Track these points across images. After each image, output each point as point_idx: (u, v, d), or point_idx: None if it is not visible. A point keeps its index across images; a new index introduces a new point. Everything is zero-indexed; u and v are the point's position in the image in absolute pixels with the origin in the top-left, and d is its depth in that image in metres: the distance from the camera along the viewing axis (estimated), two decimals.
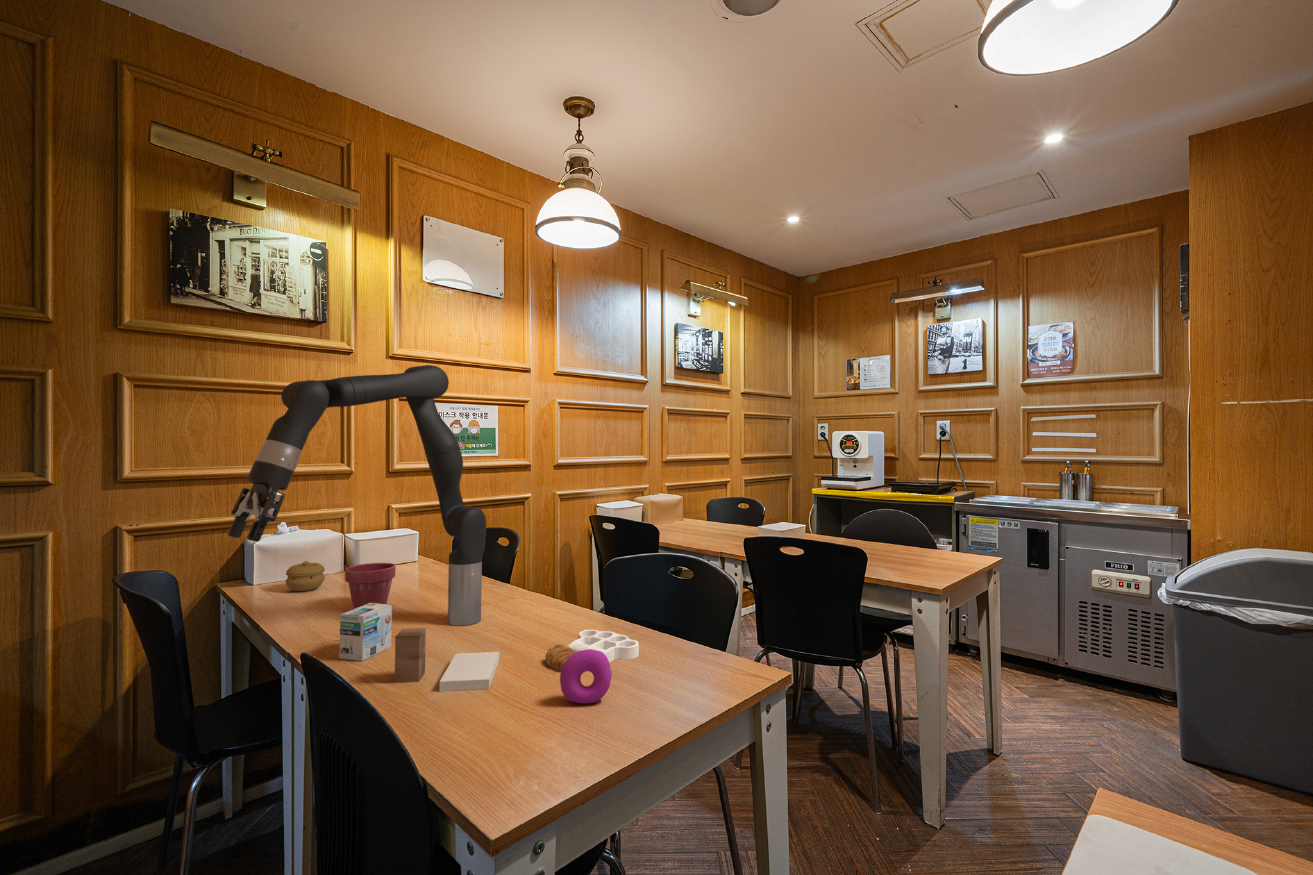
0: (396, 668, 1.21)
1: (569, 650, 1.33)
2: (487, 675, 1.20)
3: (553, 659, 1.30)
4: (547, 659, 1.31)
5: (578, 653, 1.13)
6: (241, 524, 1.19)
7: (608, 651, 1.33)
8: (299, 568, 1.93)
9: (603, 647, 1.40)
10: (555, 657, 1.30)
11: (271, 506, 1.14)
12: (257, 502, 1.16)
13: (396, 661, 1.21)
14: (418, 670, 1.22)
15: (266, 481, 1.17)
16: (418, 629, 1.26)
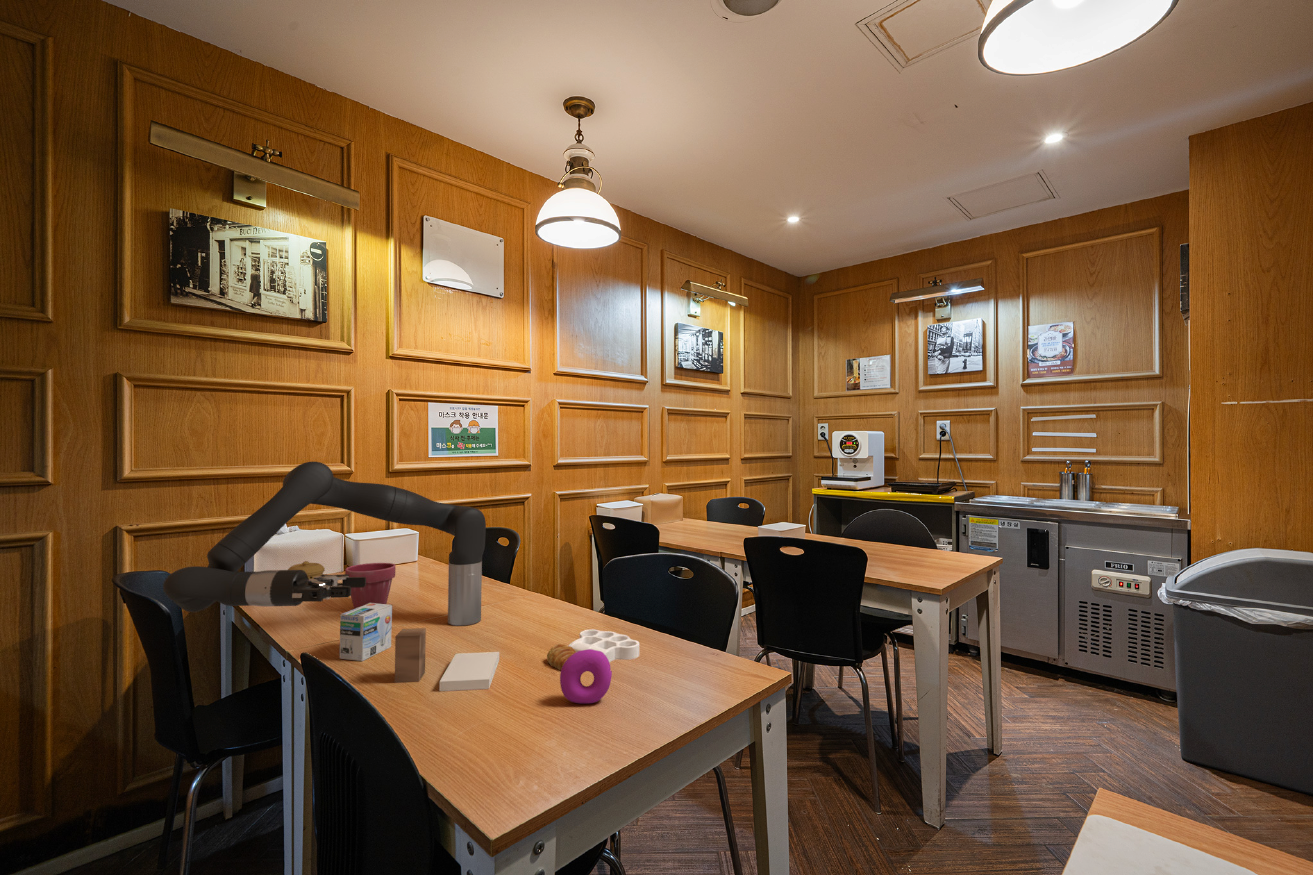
0: (396, 668, 1.21)
1: (571, 649, 1.33)
2: (487, 675, 1.20)
3: (555, 659, 1.30)
4: (549, 659, 1.32)
5: (578, 653, 1.13)
6: (351, 581, 1.26)
7: (608, 651, 1.34)
8: (299, 568, 1.93)
9: (604, 647, 1.40)
10: (557, 657, 1.30)
11: (307, 598, 1.14)
12: (314, 598, 1.18)
13: (396, 661, 1.21)
14: (418, 670, 1.22)
15: (290, 599, 1.17)
16: (418, 629, 1.26)
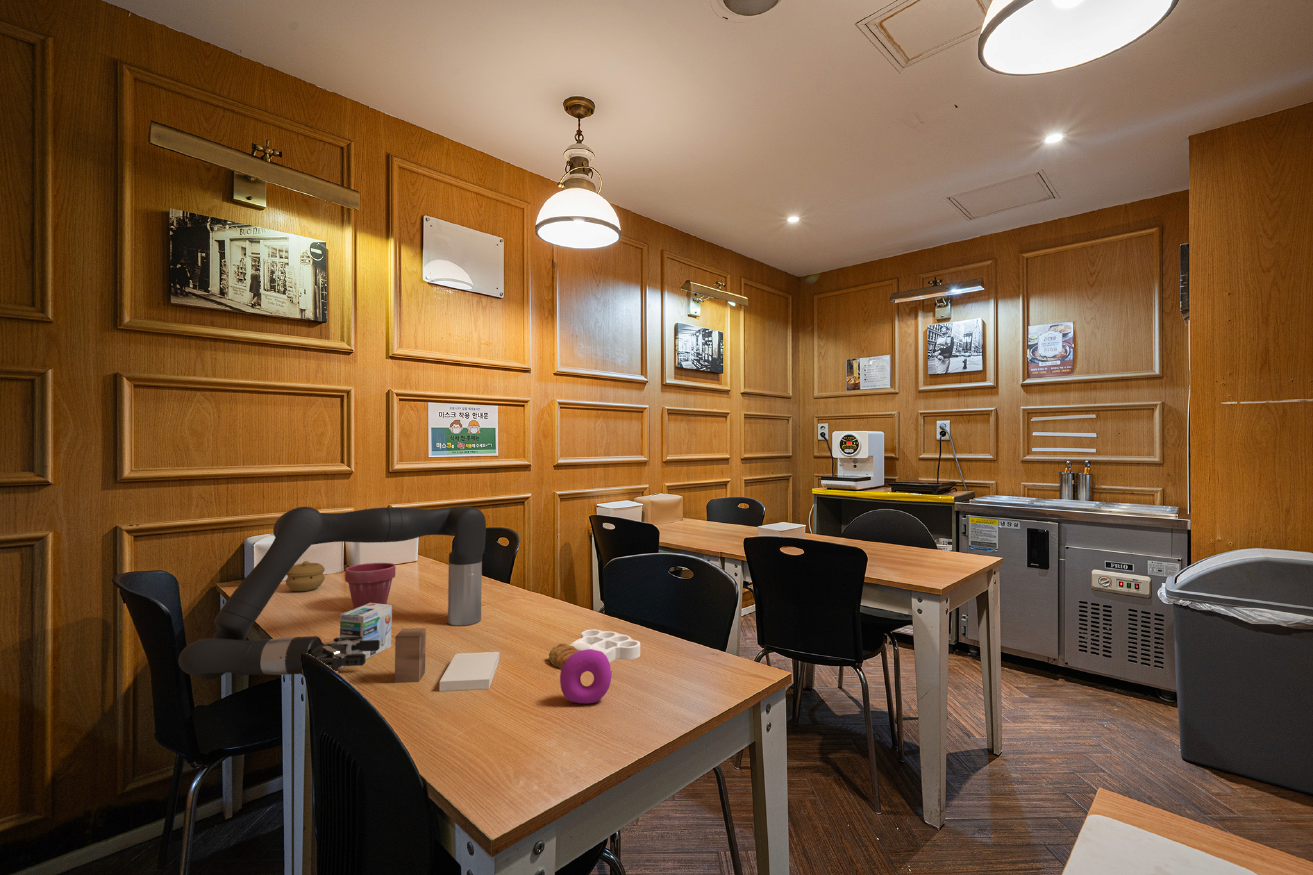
0: (396, 668, 1.21)
1: (573, 649, 1.33)
2: (487, 675, 1.20)
3: (558, 658, 1.30)
4: (551, 658, 1.32)
5: (578, 653, 1.13)
6: (365, 644, 1.26)
7: (609, 651, 1.34)
8: (299, 568, 1.93)
9: (605, 647, 1.40)
10: (559, 656, 1.31)
11: None
12: (329, 666, 1.18)
13: (396, 661, 1.21)
14: (418, 670, 1.22)
15: None
16: (418, 629, 1.26)
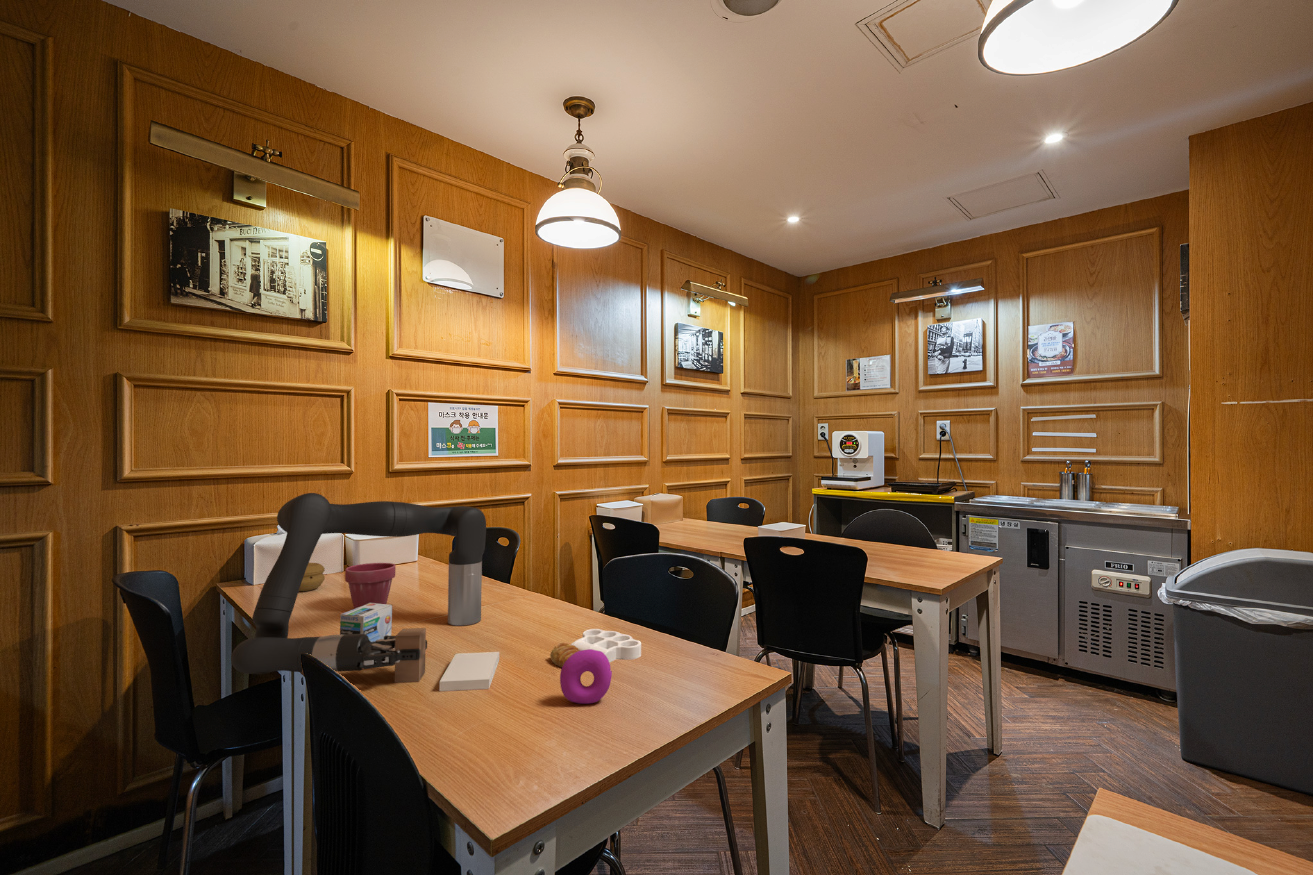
0: (396, 668, 1.21)
1: (574, 648, 1.34)
2: (487, 675, 1.20)
3: (560, 658, 1.31)
4: (553, 658, 1.32)
5: (578, 653, 1.13)
6: None
7: (609, 650, 1.34)
8: None
9: (606, 646, 1.40)
10: (561, 655, 1.31)
11: (380, 663, 1.17)
12: None
13: None
14: (418, 670, 1.22)
15: (355, 665, 1.19)
16: (418, 629, 1.26)
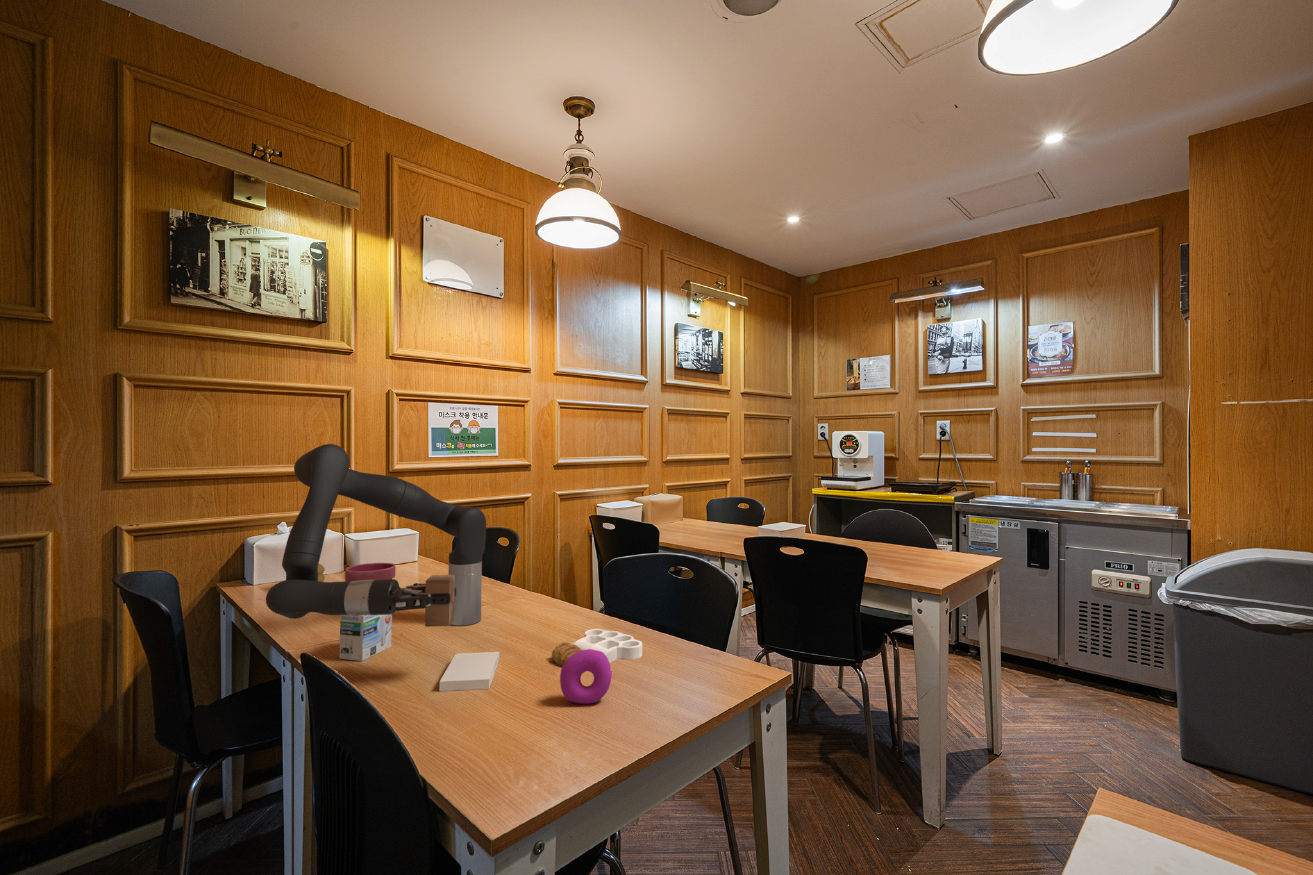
0: (426, 612, 1.22)
1: (576, 647, 1.34)
2: (487, 675, 1.20)
3: (562, 657, 1.31)
4: (555, 657, 1.32)
5: (578, 653, 1.13)
6: None
7: (610, 651, 1.34)
8: None
9: (607, 646, 1.40)
10: (563, 655, 1.31)
11: (412, 606, 1.18)
12: None
13: None
14: (448, 614, 1.23)
15: (387, 608, 1.20)
16: (447, 575, 1.27)
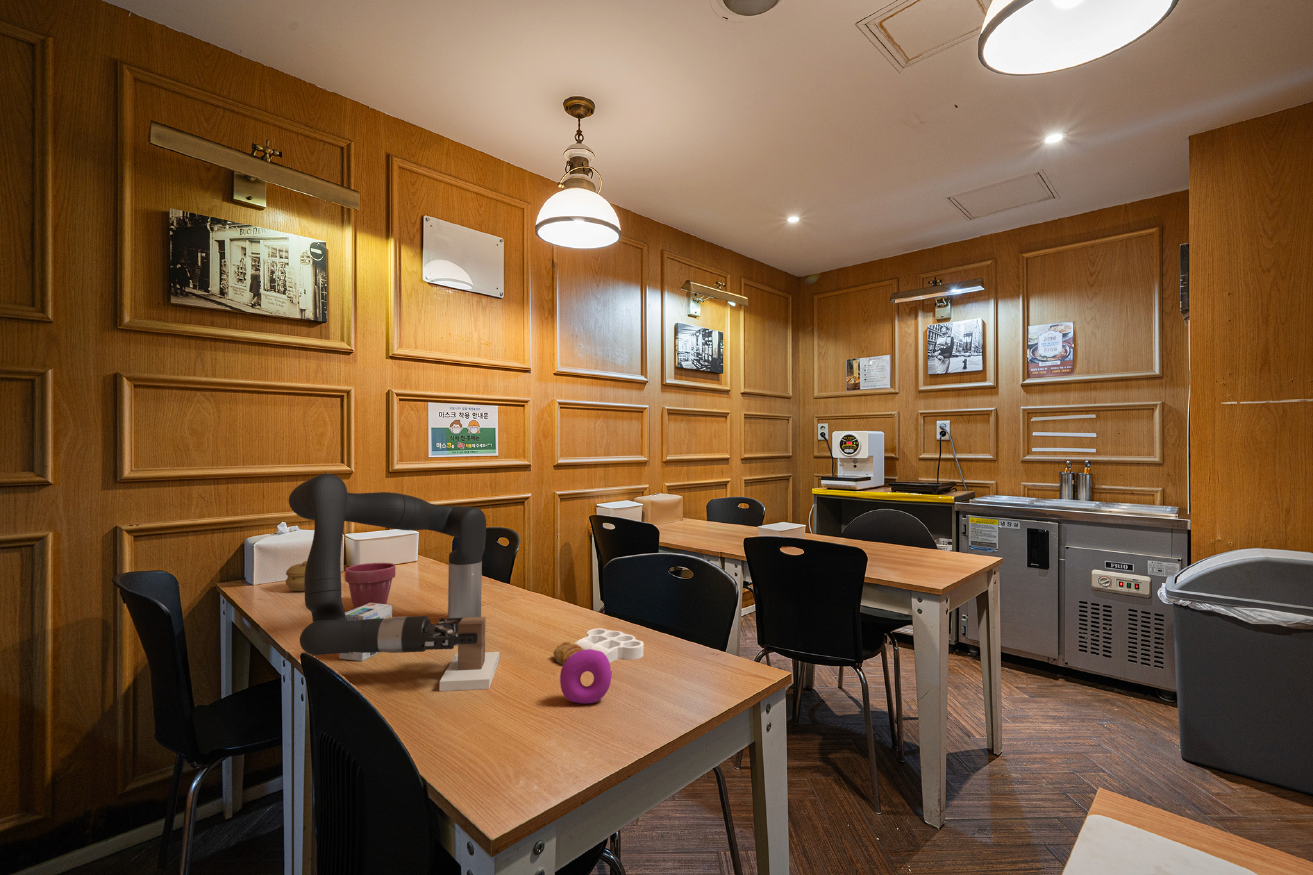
0: (459, 656, 1.23)
1: (578, 647, 1.35)
2: (487, 675, 1.20)
3: (564, 656, 1.31)
4: (557, 656, 1.33)
5: (578, 653, 1.13)
6: None
7: (611, 650, 1.34)
8: (299, 568, 1.93)
9: (609, 646, 1.40)
10: (565, 654, 1.32)
11: (439, 646, 1.18)
12: None
13: (459, 649, 1.23)
14: (480, 658, 1.24)
15: (420, 646, 1.21)
16: (478, 617, 1.28)
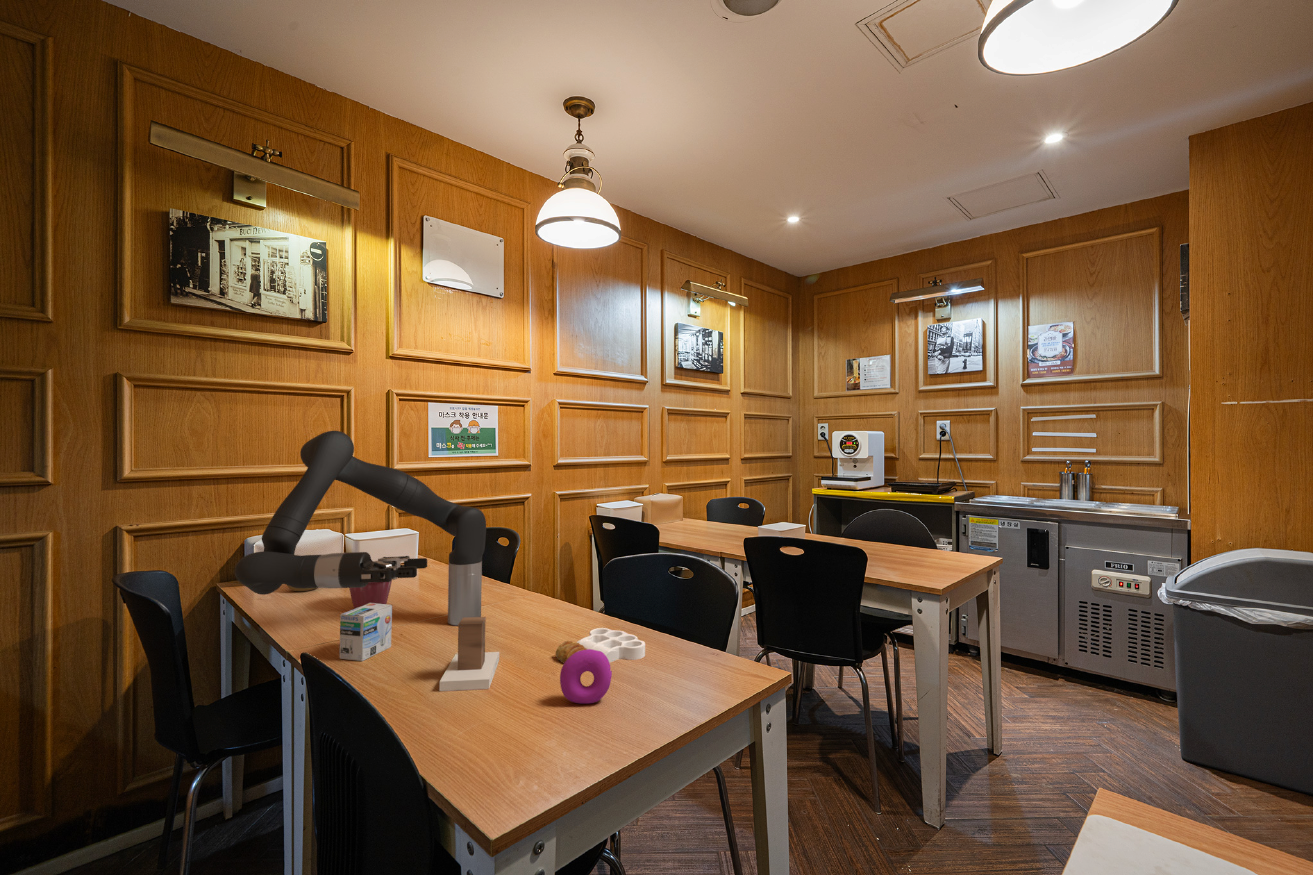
0: (459, 656, 1.23)
1: (580, 645, 1.36)
2: (487, 675, 1.20)
3: (567, 655, 1.32)
4: (560, 656, 1.33)
5: (578, 653, 1.13)
6: (413, 562, 1.28)
7: (612, 650, 1.34)
8: None
9: (611, 646, 1.41)
10: (568, 653, 1.33)
11: (376, 578, 1.16)
12: (381, 579, 1.20)
13: (459, 649, 1.23)
14: (480, 658, 1.24)
15: (358, 581, 1.19)
16: (478, 617, 1.28)
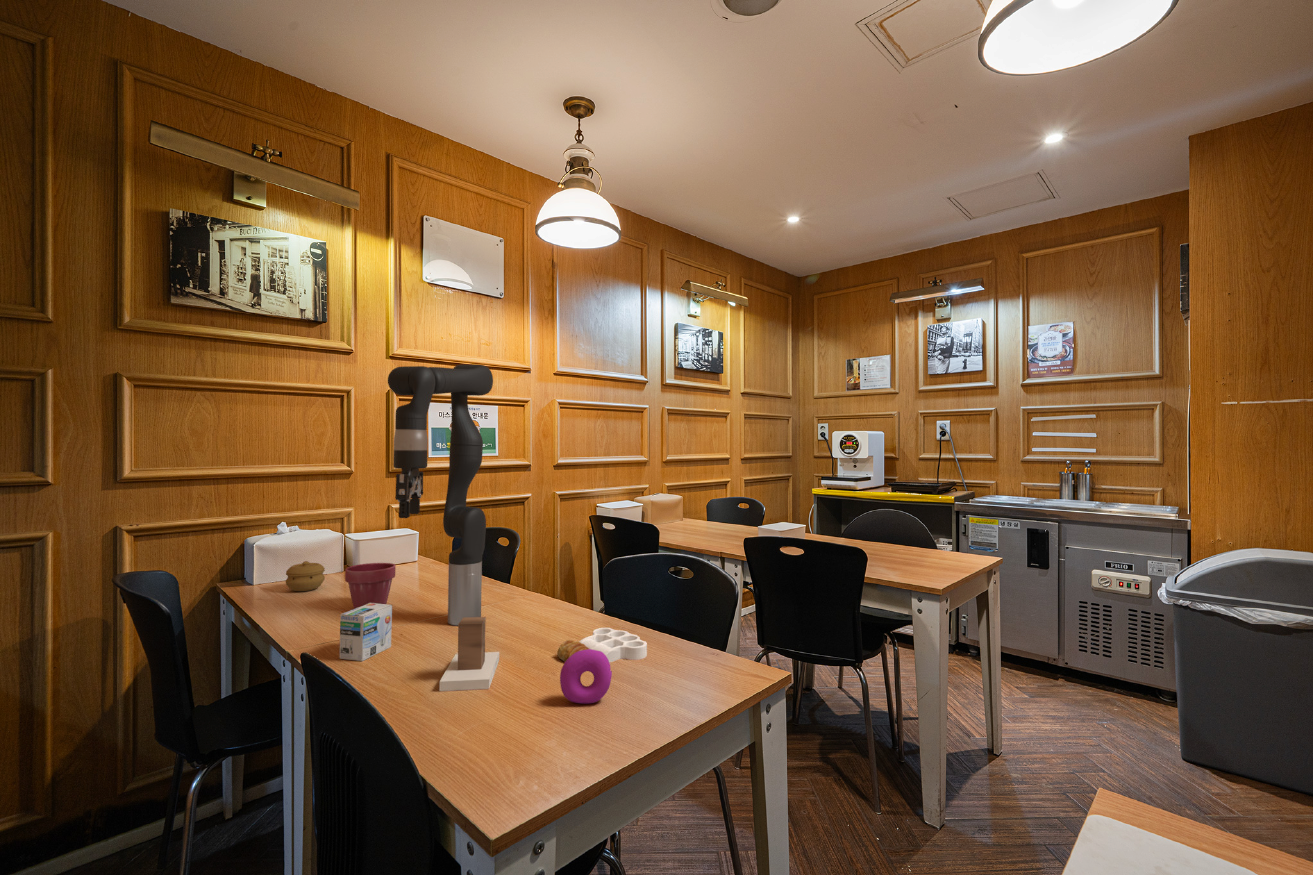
0: (459, 656, 1.23)
1: (582, 644, 1.36)
2: (487, 675, 1.20)
3: (570, 654, 1.33)
4: (562, 655, 1.34)
5: (578, 653, 1.13)
6: (415, 502, 1.39)
7: (613, 650, 1.34)
8: (299, 568, 1.93)
9: (613, 646, 1.41)
10: (571, 652, 1.33)
11: (399, 487, 1.29)
12: None
13: (459, 649, 1.23)
14: (480, 658, 1.24)
15: (398, 466, 1.32)
16: (478, 617, 1.28)
